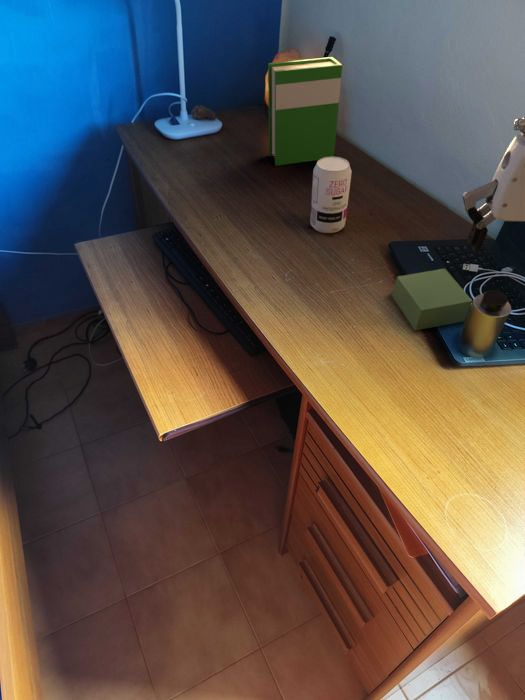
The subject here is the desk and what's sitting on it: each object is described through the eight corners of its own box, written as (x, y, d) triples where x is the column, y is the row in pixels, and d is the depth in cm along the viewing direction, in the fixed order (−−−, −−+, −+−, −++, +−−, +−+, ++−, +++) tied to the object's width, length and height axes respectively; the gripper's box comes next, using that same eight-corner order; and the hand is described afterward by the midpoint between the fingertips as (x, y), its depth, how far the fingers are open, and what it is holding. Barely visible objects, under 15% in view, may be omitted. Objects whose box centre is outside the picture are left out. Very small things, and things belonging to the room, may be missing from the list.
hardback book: (275, 165, 133) (275, 71, 116) (269, 155, 138) (268, 63, 121) (333, 157, 136) (342, 64, 119) (325, 147, 141) (332, 56, 124)
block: (438, 288, 93) (444, 268, 90) (464, 321, 87) (472, 300, 83) (392, 296, 92) (396, 276, 88) (415, 330, 85) (421, 310, 82)
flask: (485, 334, 84) (507, 285, 76) (495, 358, 80) (520, 309, 72) (453, 334, 84) (472, 285, 76) (461, 358, 80) (482, 309, 72)
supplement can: (325, 212, 115) (330, 152, 104) (351, 225, 110) (360, 163, 100) (303, 225, 111) (306, 163, 100) (329, 238, 107) (336, 176, 96)
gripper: (495, 141, 54) (454, 262, 67) (647, 141, 54) (577, 263, 66) (477, 117, 59) (441, 233, 72) (615, 117, 59) (555, 234, 71)
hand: (506, 248), depth 69 cm, fingers open, 9 cm apart
